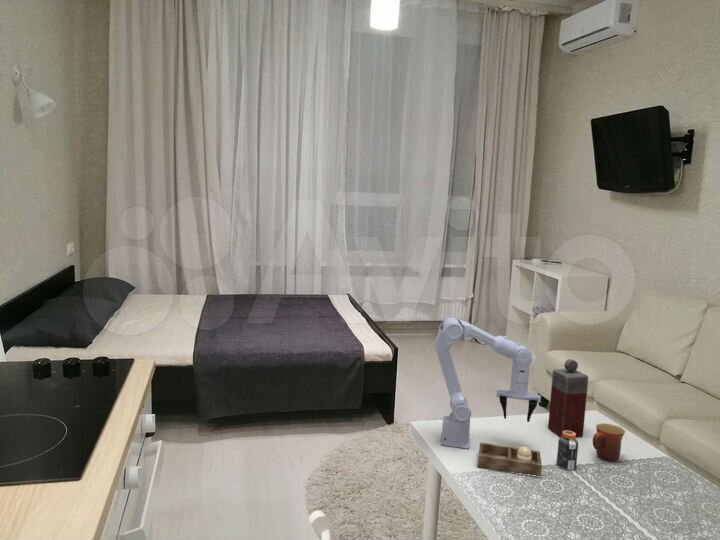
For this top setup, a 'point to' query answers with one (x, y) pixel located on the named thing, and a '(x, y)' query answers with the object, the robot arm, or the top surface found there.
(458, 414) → the robot arm
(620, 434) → the mug
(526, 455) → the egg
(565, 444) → the pill bottle
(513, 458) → the walnut holder
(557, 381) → the red grey square bottle
